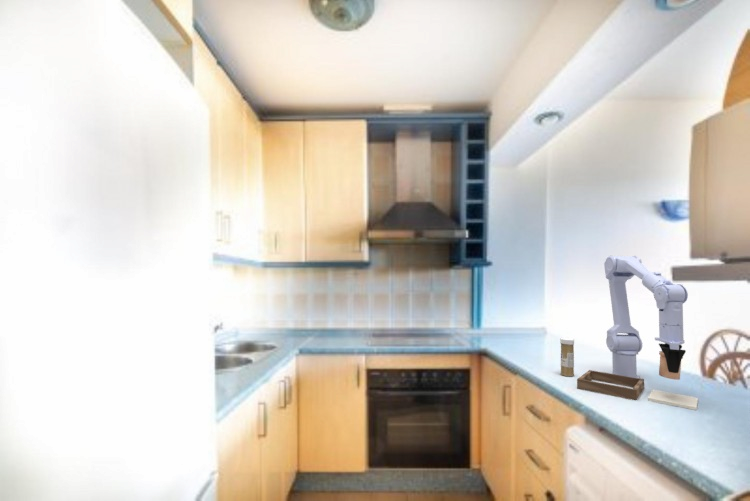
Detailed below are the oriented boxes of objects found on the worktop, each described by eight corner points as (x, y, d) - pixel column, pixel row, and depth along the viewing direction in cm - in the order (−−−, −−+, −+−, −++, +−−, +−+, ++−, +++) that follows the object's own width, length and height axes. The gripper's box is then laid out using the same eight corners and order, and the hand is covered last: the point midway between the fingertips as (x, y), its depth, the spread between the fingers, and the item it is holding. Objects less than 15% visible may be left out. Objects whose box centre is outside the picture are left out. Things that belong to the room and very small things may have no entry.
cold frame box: (589, 378, 134) (589, 370, 135) (644, 388, 124) (644, 379, 124) (577, 388, 123) (577, 379, 123) (636, 400, 112) (636, 390, 112)
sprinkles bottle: (557, 373, 140) (557, 337, 141) (569, 373, 141) (569, 337, 142) (565, 377, 136) (564, 339, 137) (577, 376, 136) (576, 339, 137)
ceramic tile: (652, 392, 120) (652, 389, 120) (698, 400, 113) (697, 397, 113) (647, 400, 112) (647, 397, 112) (696, 410, 105) (696, 407, 105)
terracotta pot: (656, 372, 117) (658, 350, 117) (679, 377, 114) (681, 354, 114) (658, 376, 112) (660, 352, 112) (682, 381, 109) (684, 357, 109)
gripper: (652, 320, 122) (653, 363, 121) (656, 326, 110) (657, 373, 109) (680, 322, 118) (681, 366, 117) (687, 328, 106) (689, 377, 105)
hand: (672, 370), depth 113 cm, fingers closed on terracotta pot, 5 cm apart
